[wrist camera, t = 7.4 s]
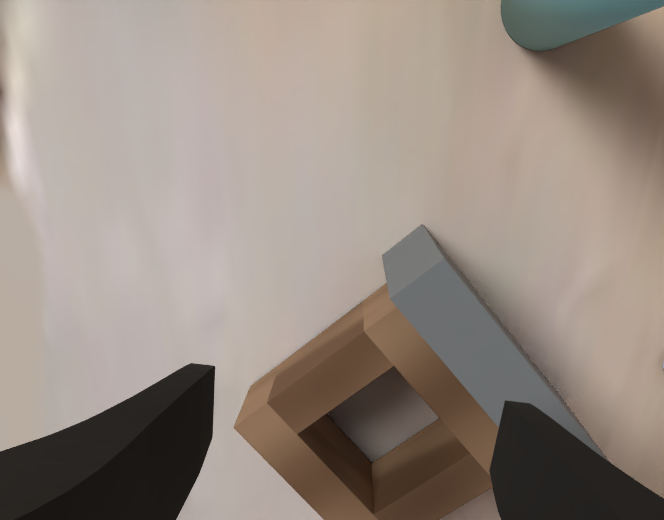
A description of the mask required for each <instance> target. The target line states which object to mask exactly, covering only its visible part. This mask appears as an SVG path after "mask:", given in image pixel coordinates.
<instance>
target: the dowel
mask: <svg viewBox="0 0 664 520" xmlns="http://www.w3.org/2000/svg"><path fill="white" fill-rule="evenodd" d="M663 6H664V0H502V1H501V16H502V21H503V25H504V27H505V29H506V31H507V33H508V34H509V36H510V37H511V38H512V39H513V40H514V41H515V42H516V43H517V44H519V45H520V46H522V47H524V48H527V49H530V50H535V51H545V50H550V49H554V48H557V47H559V46H562V45H564V44H567V43H570V42H572V41H575V40H577V39H580V38H582V37H585V36H588V35H590V34H593V33H595V32H598V31H601V30H603V29H606V28H608V27H611V26H614V25H616V24H619V23H621V22H624V21H627V20H629V19H632V18H634V17H637V16H639V15H642V14H645V13H647V12H650V11H652V10H655V9H658V8H660V7H663Z"/></svg>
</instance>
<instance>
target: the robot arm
mask: <svg viewBox="0 0 664 520" xmlns="http://www.w3.org/2000/svg"><path fill="white" fill-rule="evenodd" d="M663 369H664V362H663ZM214 380H215V366H210V365H202V364H193V363H191V364H188V365H186V366H184V367H183V368H181V369H179V370H177V371H176V372H174V373H172V374H171V375H169V376H167V377H165V378H164V379H162V380H160V381H159V382H157V383H155V384H154V385H152V386H150V387H148V388H147V389H145V390H143V391H141V392H140V393H138V394H136V395H134V396H133V397H131V398H129V399H127V400H125V401H123V402H121V403H119V404H117V405H115V406H113V407H111V408H109V409H107V410H106V411H104V412H102V413H100V414H98V415H96V416H93V417H91V418H89V419H87V420H85V421H83V422H80V423H78V424H76V425H73V426H71V427H68V428H66V429H63V430H61V431H59V432H56V433H54V434H51V435H48V436H46V437H43V438H40V439H37V440H34V441H31V442H28V443H25V444H22V445H19V446H16V447H13V448H10V449H7V450H4V451H1V452H0V520H176V519H177V517H178V515H179V513H180V511H181V509H182V507H183V505H184V503H185V501H186V499H187V497H188V495H189V493H190V491H191V489H192V487H193V485H194V483H195V481H196V479H197V477H198V475H199V473H200V470H201V468H202V465H203V462H204V460H205V457H206V454H207V451H208V448H209V445H210V442H211V440H212V435H213V407H214ZM489 472H490V477H491V482H492V486H493V491H494V496H495V500H496V504H497V508H498V512H499V514H500V517H501V520H664V498H662V497H660V496H659V495H657V494H655V493H654V492H652V491H651V490H649V489H648V488H646V487H645V486H643V485H642V484H640V483H639V482H637V481H636V480H634V479H633V478H631V477H630V476H628V475H627V474H626V473H624V472H623V471H621V470H620V469H618V468H617V467H615V466H614V465H613V464H611V463H610V462H609V461H607V460H606V459H604V458H603V457H602V456H600V455H599V454H598V453H596V452H595V451H594V450H592V449H591V448H590V447H588V446H587V445H586V444H584V443H583V442H582V441H580V440H579V439H578V438H577V437H575V436H574V435H573V434H571V433H570V432H569V431H567V430H566V429H565V428H564V427H562V426H561V425H560V424H558V423H557V422H556V421H555V420H553V419H552V418H551V417H549V416H548V415H547V414H545V413H544V412H542V411H541V410H540V409H538V408H537V407H535V406H534V405H532V404H530V403H523V402H515V401H506V400H505V402H504V407H503V411H502V416H501V420H500V425H499V429H498V434H497V438H496V443H495V447H494V452H493V456H492V461H491V465H490V470H489Z"/></svg>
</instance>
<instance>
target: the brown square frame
mask: <svg viewBox="0 0 664 520" xmlns="http://www.w3.org/2000/svg"><path fill="white" fill-rule="evenodd" d="M393 366H395V367H396V369H397V370H398V371H399V372H400V373H401V374H402V376H403V377H404V378H405V379H406V380H407V381H408V382H409V384H410V385H411V386H412V387H413V388H414V389H415V390H416V392H417V393H418V394H419V395H420V396H421V397H422V398H423V400H424V401H425V402H426V403H427V404H428V405H429V406H430V408H431V409H432V410H433V411H434V412H435V413H436V415H437V416H438V417H439V418H440V419H438V420H437V421H435V422H434V423H432V424H430V425H429V426H427V427H426V428H424V429H423V430H421V431H420V432H418V433H417V434H415V435H414V436H412V437H411V438H409V439H408V440H406V441H405V442H403V443H402V444H400V445H399V446H397V447H396V448H394V449H393V450H391V451H390V452H388V453H387V454H385V455H384V456H382V457H381V458H379V459H378V460H376V461H375V462H373V463H371V462H370V461H369V460H368V459H367V458H366V457H365V456H364V455H363V454H362V453H361V452H360V450H359V449H358V448H357V447H356V446H355V445H354V444H353V443H352V442H351V441H350V440H349V439H348V438H347V437H346V435H345V434H344V433H343V432H342V431H341V430H340V429H339V428H338V427H337V426H336V425H335V424H334V423H333V421H332V420H331V419H330V418H329V417H328V416H327V415H326V413H328V412H329V411H331V410H332V409H334V408H335V407H336V406H338V405H339V404H341V403H342V402H343V401H345V400H346V399H348V398H349V397H350V396H352V395H353V394H355V393H356V392H358V391H359V390H360V389H362V388H363V387H365V386H366V385H367V384H369V383H370V382H372V381H373V380H375V379H376V378H377V377H379V376H380V375H382V374H383V373H384V372H386V371H387V370H389V369H390V368H391V367H393ZM233 428H234V429H235V430H236V431H237V432H238V433H239V434H240V435H241V436H242V437H243V438H244V439H245V440H246V441H247V442H248V443H249V444H250V445H251V446H252V447H253V448H254V449H255V450H256V451H257V452H258V453H259V454H260V455H261V456H262V457H263V458H264V459H265V460H266V461H267V462H268V463H269V464H270V465H271V466H272V467H273V468H274V469H275V470H276V471H277V472H278V473H279V474H280V475H281V476H282V477H283V478H284V479H285V480H286V481H287V483H288V484H289V485H290V486H291V487H292V488H293V489H294V490H295V491H296V492H297V493H298V494H299V495H300V496H301V497H302V498H303V499H304V500H305V501H306V502H307V503H308V504H309V505H310V506H311V507H312V508H313V509H314V510H315V511H316V512H317V513H318V514H319V515H320V516H321V517H322V518H323V519H324V520H439V519H441V518H442V517H444V516H445V515H447V514H449V513H450V512H452V511H454V510H455V509H457V508H459V507H460V506H462V505H464V504H465V503H467V502H469V501H470V500H472V499H473V498H475V497H477V496H478V495H480V494H482V493H483V492H485V491H487V490H488V489H490V488H492V487H493V486H492V482H491V477H490V472H489V470H490V465H491V461H492V456H493V452H494V447H495V443H496V438H497V434H498V429H499V427H498V426H497V425H496V424H495V423H494V421H493V420H492V419H491V418H490V417H489V416H488V414H487V413H486V412H485V411H484V410H483V408H482V407H481V406H480V405H479V404H478V403H477V401H476V400H475V399H474V398H473V397H472V395H471V394H470V393H469V392H468V391H467V390H466V388H465V387H464V386H463V385H462V384H461V382H460V381H459V380H458V379H457V378H456V377H455V375H454V374H453V373H452V372H451V371H450V369H449V368H448V367H447V366H446V365H445V364H444V362H443V361H442V360H441V359H440V358H439V356H438V355H437V354H436V353H435V352H434V351H433V349H432V348H431V347H430V346H429V345H428V343H427V342H426V341H425V340H424V339H423V337H422V336H421V335H420V334H419V333H418V332H417V330H416V329H415V328H414V327H413V326H412V324H411V323H410V322H409V321H408V320H407V319H406V317H405V316H404V315H403V314H402V313H401V311H400V310H399V309H398V308H397V307H396V306H395V304H394V303H393V302H392V301H391V300H390V297H389V291H388V286H387V283H386V284H385V285H384V286H382V287H381V288H380V289H378V290H377V291H376V292H374V293H373V294H372V295H370V296H369V297H368V298H367V299H365V300H364V301H363V302H361V303H360V304H359V305H357V306H356V307H355V308H353V309H352V310H351V311H349V312H348V313H347V314H345V315H344V316H343V317H341V318H340V319H339V320H337V321H336V322H335V323H333V324H332V325H331V326H329V327H328V328H327V329H326V330H324V331H323V332H322V333H320V334H319V335H318V336H316V337H315V338H314V339H312V340H311V341H310V342H308V343H307V344H306V345H304V346H303V347H302V348H300V349H299V350H298V351H296V352H295V353H294V354H292V355H291V356H290V357H288V358H287V359H286V360H285V361H283V362H282V363H281V364H279V365H278V366H277V367H275V368H274V369H273V370H271V371H270V372H269V373H267V374H266V375H265V376H263V377H262V378H261V379H259V380H258V381H257V382H255V383H254V384H253V385H251V386H250V389H249V391H248V394H247V396H246V398H245V401H244V403H243V406H242V408H241V410H240V413H239V415H238V418H237V420H236V423H235V425H234V427H233Z"/></svg>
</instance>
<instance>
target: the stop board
mask: <svg viewBox="0 0 664 520" xmlns="http://www.w3.org/2000/svg"><path fill="white" fill-rule="evenodd" d="M382 258H383V263H384V269H385V275H386V280H387V286H388V291H389V297H390V300H391V301H392V302H393V303H394V304H395V306H396V307H397V308H398V309H399V310H400V311H401V313H402V314H403V315H404V316H405V317H406V319H407V320H408V321H409V322H410V323H411V324H412V326H413V327H414V328H415V329H416V330H417V332H418V333H419V334H420V335H421V336H422V337H423V339H424V340H425V341H426V342H427V343H428V345H429V346H430V347H431V348H432V349H433V351H434V352H435V353H436V354H437V355H438V356H439V358H440V359H441V360H442V361H443V362H444V364H445V365H446V366H447V367H448V368H449V369H450V371H451V372H452V373H453V374H454V375H455V377H456V378H457V379H458V380H459V381H460V382H461V384H462V385H463V386H464V387H465V388H466V390H467V391H468V392H469V393H470V394H471V395H472V397H473V398H474V399H475V400H476V401H477V403H478V404H479V405H480V406H481V407H482V408H483V410H484V411H485V412H486V413H487V414H488V416H489V417H490V418H491V419H492V420H493V421H494V423H495V424H496V425H497V426H498V427H499V425H500V420H501V416H502V411H503V407H504V402H505V400H506V401H515V402H523V403H530V404H532V405H534V406H535V407H537V408H538V409H540V410H541V411H542V412H544V413H545V414H547V415H548V416H549V417H551V418H552V419H553V420H555V421H556V422H557V423H558V424H560V425H561V426H562V427H564V428H565V429H566V430H567V431H569V432H570V433H571V434H573V435H574V436H575V437H577V438H578V439H579V440H580V441H582V442H583V443H584V444H586V445H587V446H588V447H590V448H591V449H592V450H594V451H595V452H596V453H598V454H599V455H600V456H602V457H603V458H604V459H606V460H607V458H606V457H605V456H604V454H603V453H602V452H601V450H600V449H599V448H598V446H597V445H596V444H595V442H594V441H593V440H592V438H591V437H590V435H589V434H588V433H587V431H586V430H585V429H584V427H583V426H582V425H581V423H580V422H579V421H578V419H577V418H576V417H575V415H574V414H573V413H572V411H571V410H570V409H569V407H568V406H567V404H566V403H565V402H564V401H563V399H562V398H561V397H560V396H559V394H558V393H557V392H556V391H555V389H554V388H553V387H552V386H551V384H550V383H549V382H548V381H547V379H546V378H545V377H544V376H543V374H542V373H541V372H540V371H539V369H538V368H537V367H536V366H535V364H534V363H533V362H532V361H531V359H530V358H529V357H528V356H527V354H526V353H525V352H524V351H523V349H522V348H521V347H520V346H519V344H518V343H517V342H516V341H515V339H514V338H513V337H512V336H511V334H510V333H509V332H508V331H507V329H506V328H505V327H504V326H503V324H502V323H501V322H500V321H499V319H498V318H497V317H496V316H495V314H494V313H493V312H492V311H491V309H490V308H489V307H488V306H487V304H486V303H485V302H484V301H483V299H482V298H481V297H480V296H479V294H478V293H477V292H476V291H475V289H474V288H473V287H472V286H471V284H470V283H469V282H468V281H467V279H466V278H465V277H464V276H463V274H462V273H461V272H460V271H459V269H458V268H457V267H456V266H455V264H454V263H453V262H452V261H451V259H450V258H449V257H448V256H447V254H446V253H445V252H444V251H443V249H442V248H441V247H440V246H439V244H438V243H437V242H436V241H435V239H434V238H433V237H432V236H431V234H430V233H429V232H428V231H427V229H426V228H425V227H424V226H423V224H422V225H421V226H420V227H418V228H417V229H416V230H414V231H413V232H412V233H411V234H409V235H408V236H407V237H405V238H404V239H403V240H402V241H400V242H399V243H398V244H396V245H395V246H394V247H392V248H391V249H390V250H389V251H387V252H386V253H385V254H383V255H382ZM607 461H608V460H607Z"/></svg>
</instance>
